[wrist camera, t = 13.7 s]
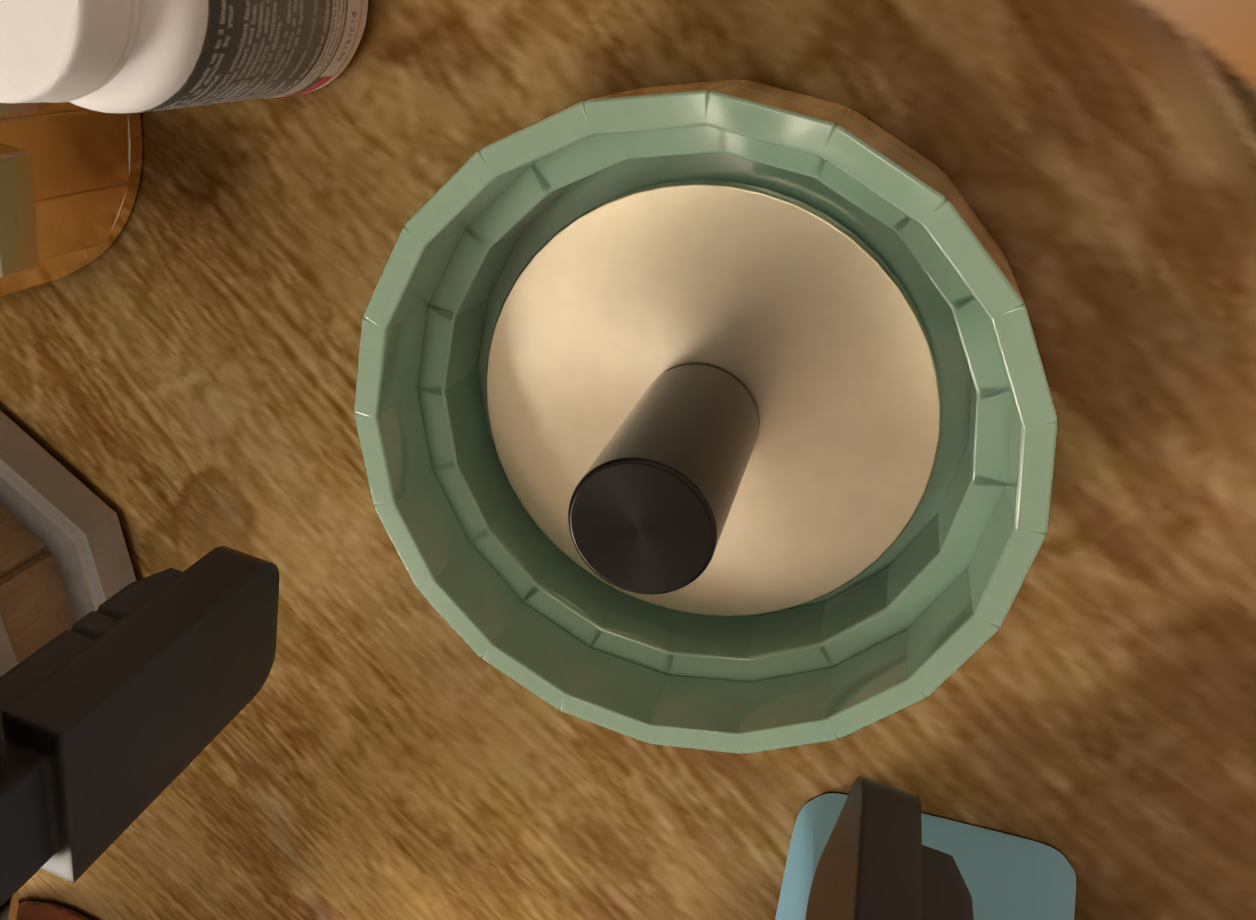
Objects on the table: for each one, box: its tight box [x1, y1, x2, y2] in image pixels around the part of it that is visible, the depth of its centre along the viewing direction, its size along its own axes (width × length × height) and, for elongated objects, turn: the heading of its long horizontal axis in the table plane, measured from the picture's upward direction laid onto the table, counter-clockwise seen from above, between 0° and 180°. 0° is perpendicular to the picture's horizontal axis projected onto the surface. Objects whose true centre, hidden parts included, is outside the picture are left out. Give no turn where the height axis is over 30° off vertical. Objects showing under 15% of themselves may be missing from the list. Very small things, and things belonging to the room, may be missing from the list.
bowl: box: [354, 79, 1058, 754], centre depth 22 cm, size 14×14×4 cm
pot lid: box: [486, 180, 941, 617], centre depth 20 cm, size 11×11×7 cm
